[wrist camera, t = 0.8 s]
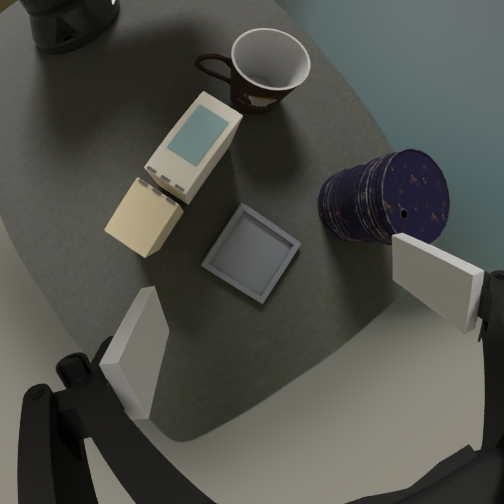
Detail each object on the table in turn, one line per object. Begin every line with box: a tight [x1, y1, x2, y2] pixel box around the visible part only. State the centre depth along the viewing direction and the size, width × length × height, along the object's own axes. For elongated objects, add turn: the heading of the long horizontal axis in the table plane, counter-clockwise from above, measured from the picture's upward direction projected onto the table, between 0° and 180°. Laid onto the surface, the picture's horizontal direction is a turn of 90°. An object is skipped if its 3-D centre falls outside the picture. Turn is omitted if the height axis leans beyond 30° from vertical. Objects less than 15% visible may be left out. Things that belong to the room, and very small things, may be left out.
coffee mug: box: [195, 28, 311, 115], centre depth 31 cm, size 12×9×10 cm
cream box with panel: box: [144, 91, 243, 205], centre depth 30 cm, size 4×9×11 cm, turn 147°
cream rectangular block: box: [105, 177, 184, 258], centre depth 30 cm, size 4×6×11 cm
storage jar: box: [318, 149, 450, 245], centre depth 32 cm, size 10×10×15 cm
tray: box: [201, 202, 301, 304], centre depth 37 cm, size 9×9×1 cm
